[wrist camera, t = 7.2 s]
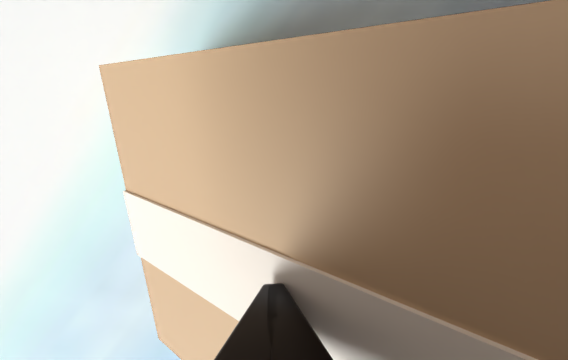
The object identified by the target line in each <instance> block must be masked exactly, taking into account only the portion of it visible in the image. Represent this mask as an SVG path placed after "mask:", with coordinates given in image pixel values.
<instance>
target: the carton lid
mask: <svg viewBox="0 0 568 360" xmlns="http://www.w3.org/2000/svg"><path fill="white" fill-rule="evenodd" d="M99 68H100V72H101V77H102V82H103V86H104V91H105V95H106V100H107V105H108V109H109V114H110V118H111V123H112V127H113V132H114V137H115V141H116V146H117V150H118V155H119V160H120V164H121V169H122V173H123V178H124V182H125V187H126V190H125V191H123V193H124V198H125V202H126V207H127V211H128V216H129V220H130V225H131V229H132V234H133V238H134V243H135V247H136V252H137V255H138V256H140V257H141V260H142V265H143V270H144V274H145V279H146V283H147V288H148V292H149V297H150V302H151V306H152V311H153V315H154V320H155V325H156V329H157V334H158V338H159V339H160V340H161V341H162V342H163V343H164V344H165V345H166V346H167V347H168V348H169V349H170V350H172V351H173V352H174V353H175V354H176V355H177V356H178V357H179V358H180V359H181V360H214V359H215V357H216V356H217V354H218V353H219V351H220V350H221V348H222V347H223V345H224V344H225V342H226V340H227V339H228V337H229V336H230V334H231V333H232V331H233V330H234V328H235V327H236V325H237V324H238V322H239V321H240V319H241V318H242V316H243V315H244V313H245V312H246V310H247V309H248V307H249V306H250V304H251V303H252V301H253V300H254V298H255V297H256V295H257V294H258V292H259V291H260V289H261V287H262V286H263V285H264V284H273V283H282V284H284V285H285V287H286V288H287V290H288V291H289V293H290V295H291V296H292V298H293V299H294V301H295V302H296V304H297V305H298V307H299V308H300V310H301V311H302V313H303V314H304V316H305V317H306V319H307V320H308V322H309V324H310V325H311V327H312V328H313V330H314V331H315V333H316V334H317V336H318V337H319V339H320V340H321V342H322V343H323V345H324V346H325V348H326V349H327V351H328V353H329V354H330V356H331V357H332V359H333V360H568V0H550V1H543V2H536V3H529V4H522V5H515V6H508V7H501V8H494V9H488V10H481V11H474V12H467V13H460V14H453V15H446V16H439V17H432V18H425V19H418V20H411V21H404V22H397V23H390V24H383V25H376V26H369V27H362V28H355V29H348V30H341V31H334V32H327V33H321V34H314V35H307V36H300V37H293V38H286V39H279V40H272V41H265V42H258V43H251V44H244V45H237V46H230V47H223V48H216V49H209V50H202V51H195V52H188V53H181V54H174V55H167V56H160V57H154V58H147V59H140V60H133V61H126V62H119V63H112V64H105V65H99Z"/></svg>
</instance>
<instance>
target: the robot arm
mask: <svg viewBox="0 0 568 360" xmlns="http://www.w3.org/2000/svg"><path fill="white" fill-rule="evenodd" d="M214 360H333V359H332V357H331V356H330V354H329V353H328V351H327V349H326V348H325V346H324V345H323V343H322V342H321V340H320V339H319V337H318V336H317V334H316V333H315V331H314V330H313V328H312V327H311V325H310V324H309V322H308V320H307V319H306V317H305V316H304V314H303V313H302V311H301V310H300V308H299V307H298V305H297V304H296V302H295V301H294V299H293V298H292V296H291V295H290V293H289V291H288V290H287V288H286V287H285V285H284V284H282V283H273V284H264V285H263V286H262V287H261V289H260V291H259V292H258V294H257V295H256V297H255V298H254V300H253V301H252V303H251V304H250V306H249V307H248V309H247V310H246V312H245V313H244V315H243V316H242V318H241V319H240V321H239V322H238V324H237V325H236V327H235V328H234V330H233V331H232V333H231V334H230V336H229V337H228V339H227V340H226V342H225V344H224V345H223V347H222V348H221V350H220V351H219V353H218V354H217V356H216V357H215V359H214Z"/></svg>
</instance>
